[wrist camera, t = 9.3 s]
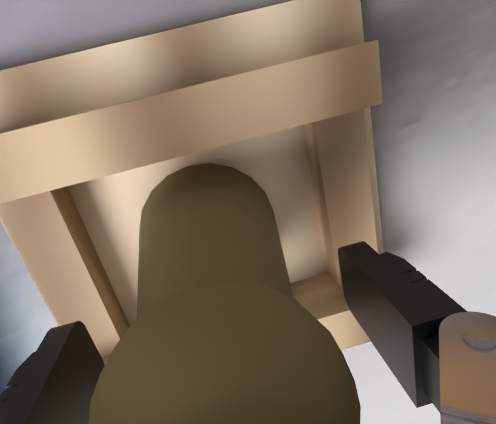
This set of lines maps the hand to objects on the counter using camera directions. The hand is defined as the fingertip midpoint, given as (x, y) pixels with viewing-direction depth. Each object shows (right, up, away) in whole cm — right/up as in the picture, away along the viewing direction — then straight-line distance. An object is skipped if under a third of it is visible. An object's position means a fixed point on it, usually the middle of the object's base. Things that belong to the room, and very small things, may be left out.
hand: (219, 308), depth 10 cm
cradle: (-1, +2, +6) cm, 7 cm away
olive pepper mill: (-1, +2, +6) cm, 6 cm away
